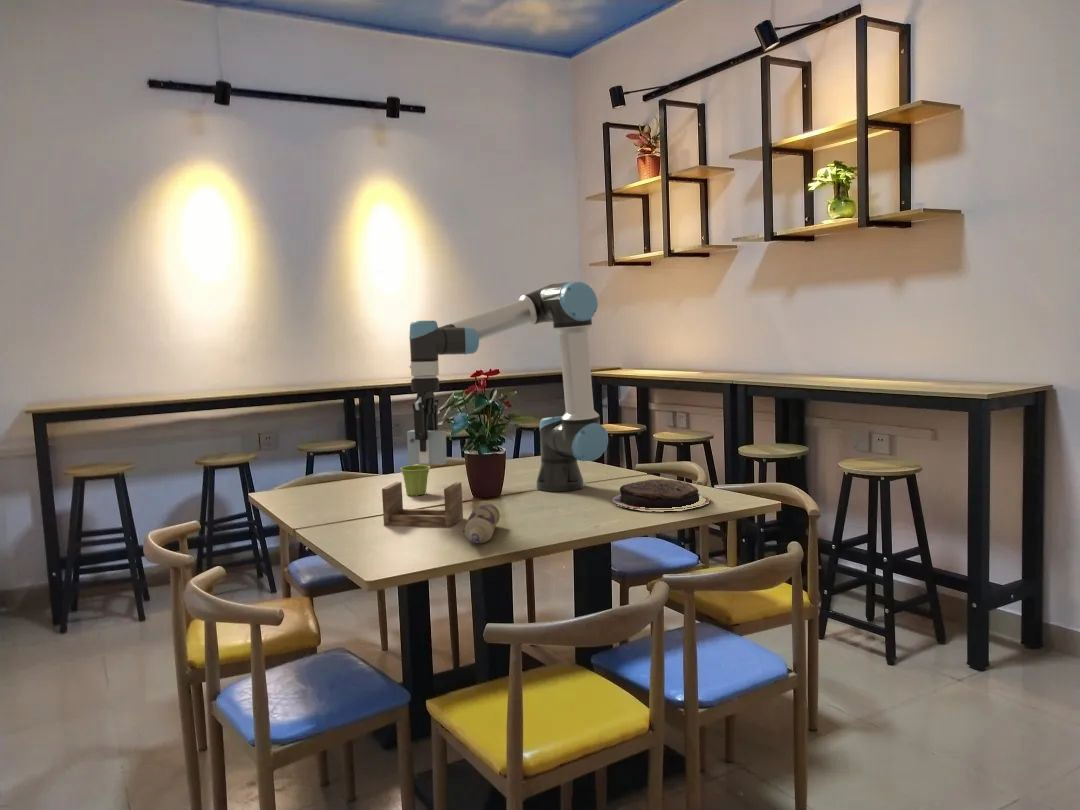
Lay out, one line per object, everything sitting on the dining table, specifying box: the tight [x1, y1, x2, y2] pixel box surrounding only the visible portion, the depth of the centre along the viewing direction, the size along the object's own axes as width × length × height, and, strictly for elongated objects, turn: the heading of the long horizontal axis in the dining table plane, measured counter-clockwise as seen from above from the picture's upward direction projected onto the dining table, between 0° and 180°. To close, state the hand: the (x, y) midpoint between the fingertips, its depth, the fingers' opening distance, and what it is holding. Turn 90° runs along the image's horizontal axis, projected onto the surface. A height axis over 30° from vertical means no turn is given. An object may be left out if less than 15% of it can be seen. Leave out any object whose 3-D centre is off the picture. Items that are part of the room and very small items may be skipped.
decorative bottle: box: [462, 502, 501, 544], centre depth 208 cm, size 26×8×7 cm, turn 177°
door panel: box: [406, 429, 448, 466], centre depth 231 cm, size 10×4×9 cm, turn 76°
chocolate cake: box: [611, 478, 711, 510], centre depth 242 cm, size 28×28×7 cm
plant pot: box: [400, 464, 431, 497], centre depth 268 cm, size 9×9×9 cm
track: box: [381, 481, 464, 528], centre depth 228 cm, size 19×10×10 cm, turn 77°
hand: (427, 461), depth 232 cm, fingers closed on door panel, 3 cm apart
